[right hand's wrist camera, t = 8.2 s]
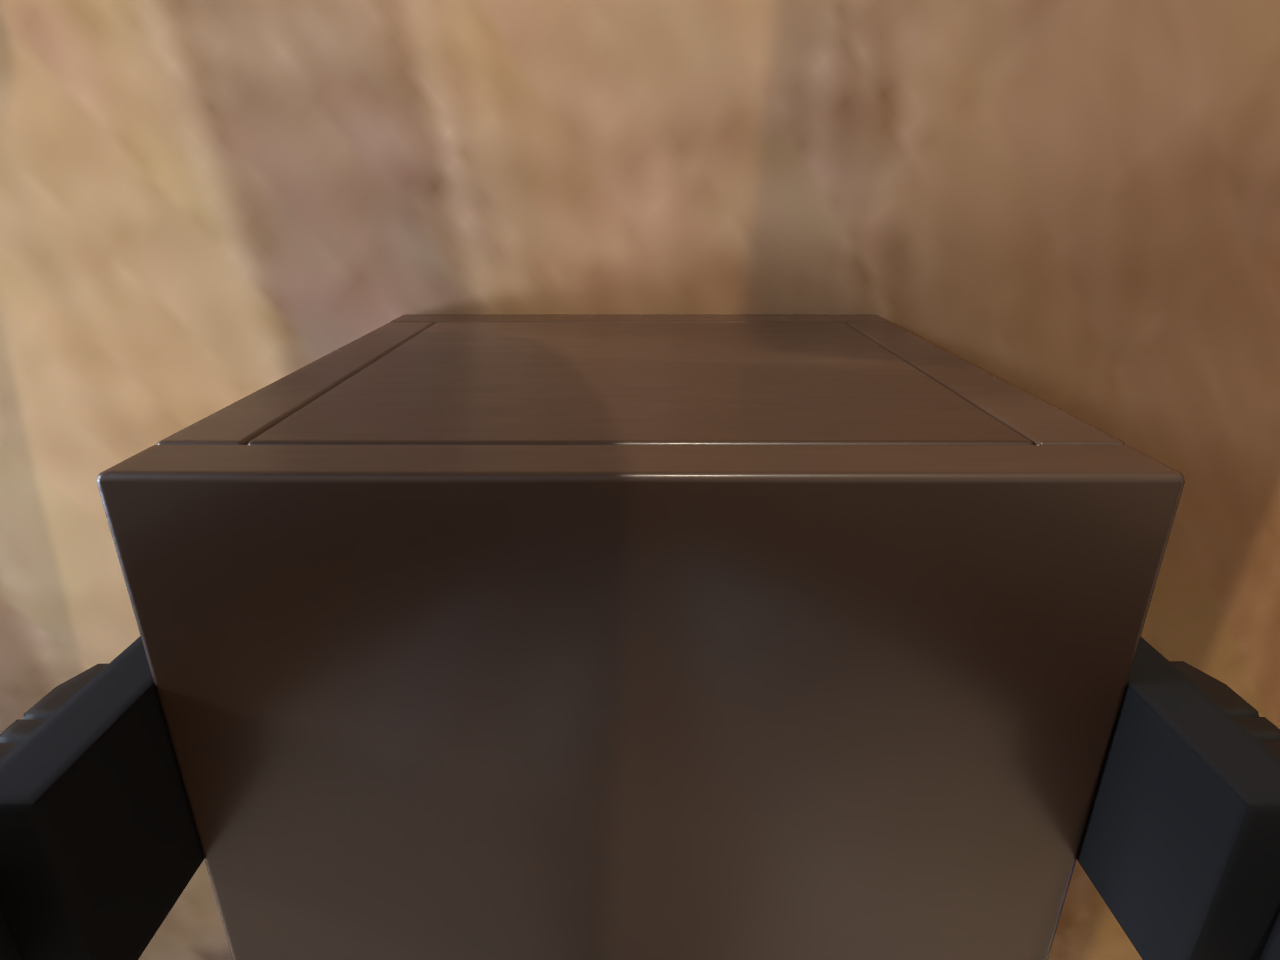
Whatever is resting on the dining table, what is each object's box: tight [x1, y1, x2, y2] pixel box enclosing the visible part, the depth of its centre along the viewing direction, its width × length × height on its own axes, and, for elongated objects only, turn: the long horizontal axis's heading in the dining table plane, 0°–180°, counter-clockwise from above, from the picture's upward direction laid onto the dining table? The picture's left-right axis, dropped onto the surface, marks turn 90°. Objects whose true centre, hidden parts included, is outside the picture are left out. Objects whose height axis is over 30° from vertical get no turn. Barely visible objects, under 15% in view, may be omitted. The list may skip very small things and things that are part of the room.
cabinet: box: [97, 315, 1185, 960], centre depth 16 cm, size 22×11×11 cm, turn 0°
